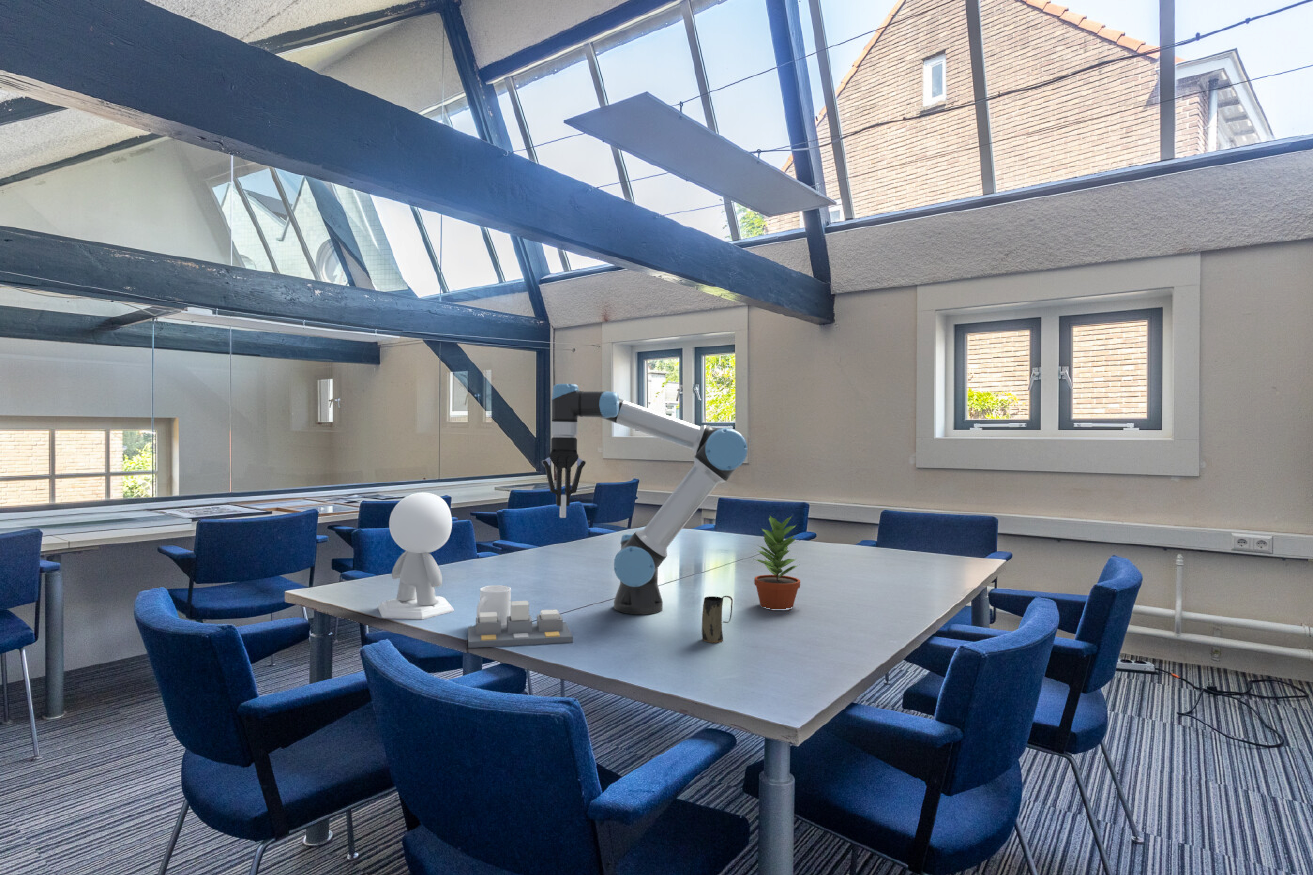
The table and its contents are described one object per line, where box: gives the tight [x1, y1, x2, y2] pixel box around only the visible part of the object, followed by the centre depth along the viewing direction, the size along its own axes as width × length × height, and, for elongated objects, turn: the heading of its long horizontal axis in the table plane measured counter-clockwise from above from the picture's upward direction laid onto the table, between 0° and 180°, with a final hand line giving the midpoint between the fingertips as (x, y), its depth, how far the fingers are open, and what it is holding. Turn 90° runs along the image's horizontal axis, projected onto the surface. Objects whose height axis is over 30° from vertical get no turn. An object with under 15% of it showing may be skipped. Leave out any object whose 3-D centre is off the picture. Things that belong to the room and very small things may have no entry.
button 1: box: [540, 609, 560, 620], centre depth 185 cm, size 4×4×4 cm
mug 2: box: [701, 595, 734, 644], centre depth 183 cm, size 8×6×12 cm
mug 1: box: [476, 585, 512, 625], centre depth 190 cm, size 12×8×10 cm
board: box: [467, 613, 574, 649], centre depth 181 cm, size 26×14×4 cm, turn 105°
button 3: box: [479, 612, 497, 623], centre depth 181 cm, size 4×4×4 cm
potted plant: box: [753, 514, 801, 609], centre depth 221 cm, size 15×15×30 cm
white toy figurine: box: [377, 491, 455, 620], centre depth 206 cm, size 20×23×35 cm
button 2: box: [510, 600, 530, 621], centre depth 183 cm, size 4×4×4 cm
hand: (562, 517), depth 202 cm, fingers closed
